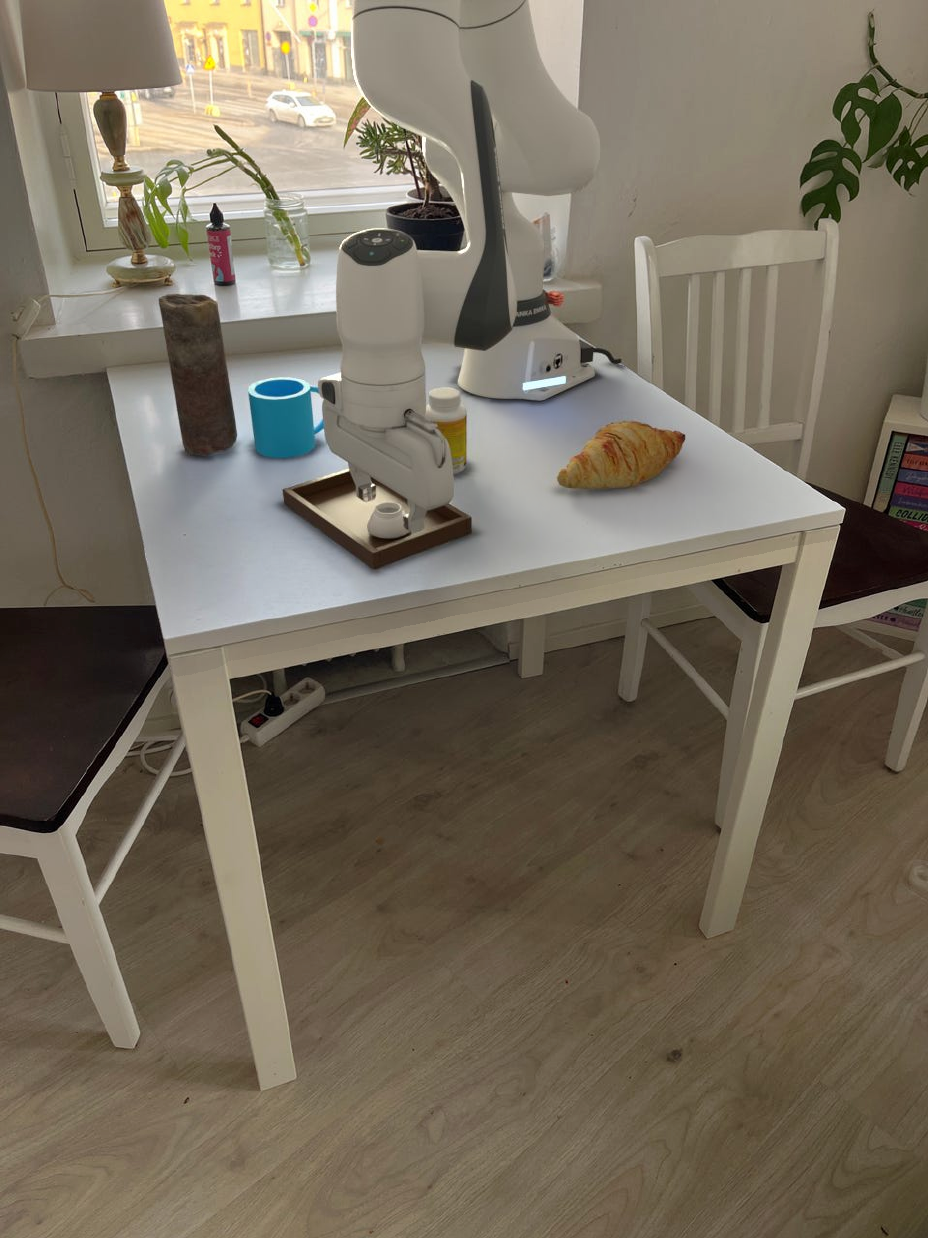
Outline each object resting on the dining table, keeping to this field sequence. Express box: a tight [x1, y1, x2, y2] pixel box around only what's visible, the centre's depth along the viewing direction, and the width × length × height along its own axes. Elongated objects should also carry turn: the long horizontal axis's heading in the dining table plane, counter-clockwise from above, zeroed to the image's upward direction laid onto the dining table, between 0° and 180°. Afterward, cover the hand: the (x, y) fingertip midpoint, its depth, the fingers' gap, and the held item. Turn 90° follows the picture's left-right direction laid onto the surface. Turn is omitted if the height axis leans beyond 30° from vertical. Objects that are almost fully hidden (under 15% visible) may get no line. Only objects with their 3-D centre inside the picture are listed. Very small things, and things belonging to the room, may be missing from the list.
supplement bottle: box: [424, 386, 468, 475], centre depth 123 cm, size 6×6×10 cm
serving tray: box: [281, 468, 473, 571], centre depth 114 cm, size 14×20×2 cm
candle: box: [158, 293, 238, 457], centre depth 126 cm, size 8×7×20 cm
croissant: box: [556, 420, 686, 490], centre depth 123 cm, size 21×10×8 cm, turn 126°
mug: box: [247, 376, 324, 459], centre depth 130 cm, size 12×8×8 cm
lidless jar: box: [367, 502, 410, 539], centre depth 110 cm, size 5×3×5 cm
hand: (389, 513), depth 109 cm, fingers open, 8 cm apart
